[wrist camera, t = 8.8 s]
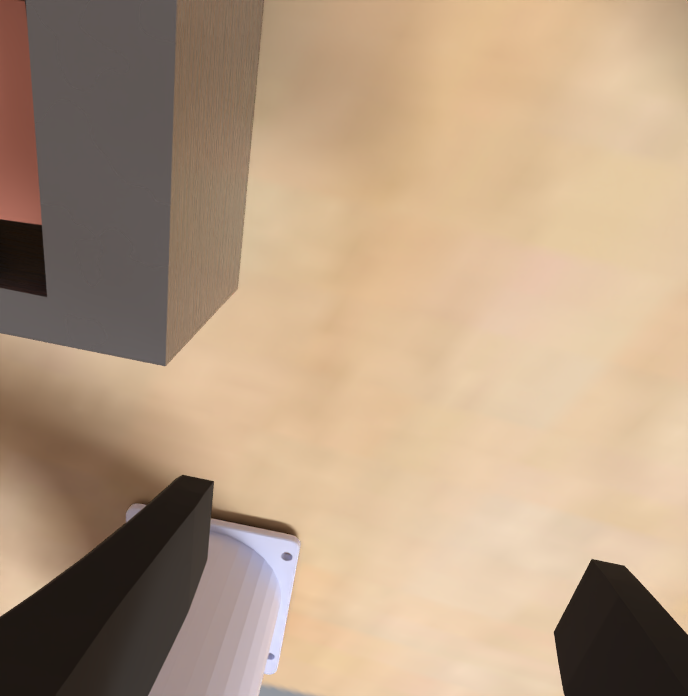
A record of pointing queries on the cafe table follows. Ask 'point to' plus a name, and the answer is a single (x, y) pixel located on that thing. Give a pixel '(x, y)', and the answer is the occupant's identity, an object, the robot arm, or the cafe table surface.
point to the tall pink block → (17, 120)
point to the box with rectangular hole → (133, 173)
